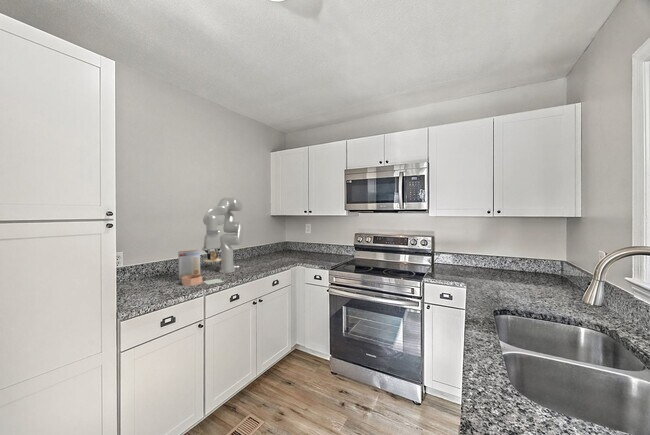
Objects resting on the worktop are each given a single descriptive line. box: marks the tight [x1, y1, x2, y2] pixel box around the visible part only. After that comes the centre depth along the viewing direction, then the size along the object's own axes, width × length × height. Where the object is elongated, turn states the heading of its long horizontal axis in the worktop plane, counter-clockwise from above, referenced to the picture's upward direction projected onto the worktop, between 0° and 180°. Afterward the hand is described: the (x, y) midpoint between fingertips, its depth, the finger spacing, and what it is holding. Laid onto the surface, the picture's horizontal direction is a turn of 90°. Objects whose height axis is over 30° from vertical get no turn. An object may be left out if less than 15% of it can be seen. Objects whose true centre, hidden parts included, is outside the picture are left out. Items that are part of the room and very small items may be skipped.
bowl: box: [181, 274, 203, 287], centre depth 186 cm, size 12×12×5 cm
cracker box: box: [177, 249, 201, 281], centre depth 201 cm, size 14×6×21 cm, turn 129°
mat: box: [202, 278, 225, 285], centre depth 190 cm, size 11×11×1 cm
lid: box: [203, 250, 222, 263], centre depth 189 cm, size 12×12×6 cm
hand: (212, 258), depth 189 cm, fingers closed on lid, 4 cm apart
